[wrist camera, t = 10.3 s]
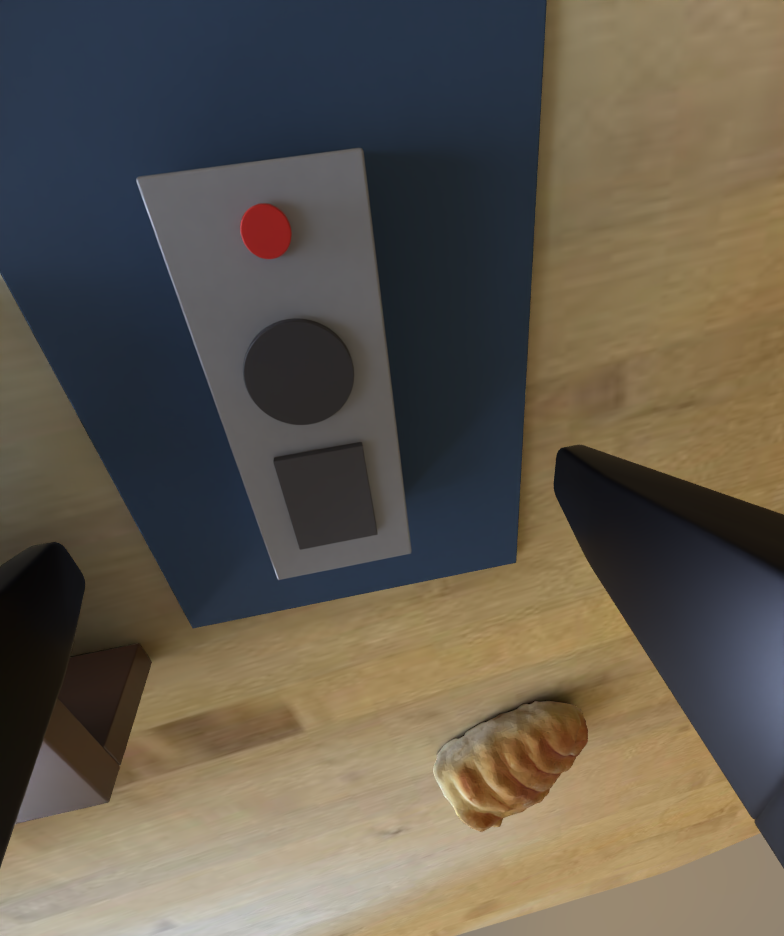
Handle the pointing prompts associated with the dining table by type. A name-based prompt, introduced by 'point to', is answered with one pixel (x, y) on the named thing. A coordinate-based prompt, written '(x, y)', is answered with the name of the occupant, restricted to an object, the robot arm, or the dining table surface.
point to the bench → (87, 732)
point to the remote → (292, 347)
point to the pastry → (509, 761)
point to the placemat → (262, 138)
